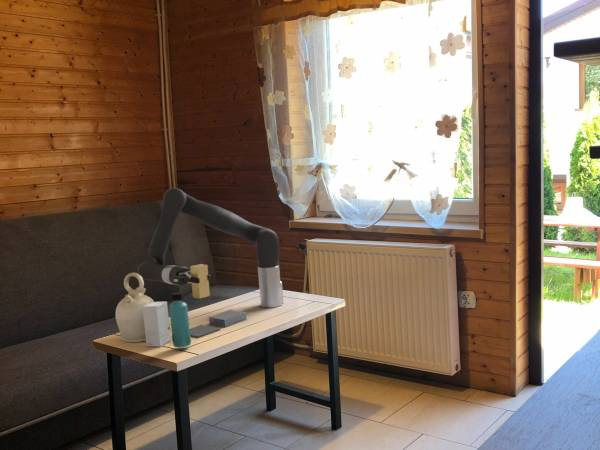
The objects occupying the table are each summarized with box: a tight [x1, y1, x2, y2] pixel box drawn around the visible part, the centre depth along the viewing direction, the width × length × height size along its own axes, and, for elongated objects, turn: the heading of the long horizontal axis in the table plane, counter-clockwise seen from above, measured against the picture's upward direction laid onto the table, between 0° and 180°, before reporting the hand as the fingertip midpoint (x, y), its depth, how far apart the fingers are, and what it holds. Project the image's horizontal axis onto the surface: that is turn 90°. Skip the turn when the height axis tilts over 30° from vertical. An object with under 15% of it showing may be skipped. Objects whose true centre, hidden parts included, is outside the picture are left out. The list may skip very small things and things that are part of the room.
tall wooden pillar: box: [189, 263, 211, 299], centre depth 246 cm, size 5×4×12 cm
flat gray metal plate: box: [190, 324, 221, 339], centre depth 245 cm, size 11×11×1 cm
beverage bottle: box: [168, 291, 192, 348], centre depth 225 cm, size 6×7×20 cm
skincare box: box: [143, 301, 172, 348], centre depth 233 cm, size 8×6×15 cm
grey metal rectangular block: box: [208, 309, 248, 328], centre depth 256 cm, size 12×9×3 cm
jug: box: [115, 272, 155, 344], centre depth 242 cm, size 15×16×25 cm
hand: (204, 279), depth 244 cm, fingers closed on tall wooden pillar, 5 cm apart
